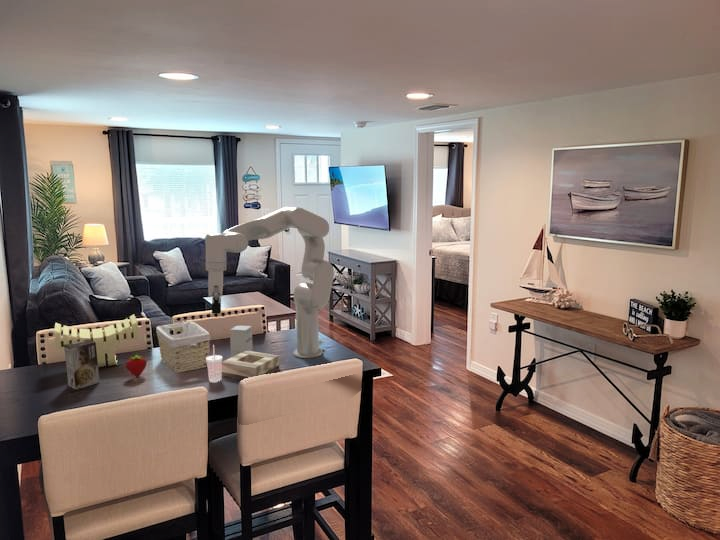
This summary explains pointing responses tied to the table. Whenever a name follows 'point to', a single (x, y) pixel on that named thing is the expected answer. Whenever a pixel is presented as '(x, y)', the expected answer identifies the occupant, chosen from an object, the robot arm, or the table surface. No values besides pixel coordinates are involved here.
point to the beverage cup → (214, 367)
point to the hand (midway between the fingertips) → (216, 310)
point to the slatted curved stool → (100, 338)
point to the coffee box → (81, 363)
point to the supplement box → (240, 339)
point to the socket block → (250, 364)
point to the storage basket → (184, 346)
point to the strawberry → (136, 365)
